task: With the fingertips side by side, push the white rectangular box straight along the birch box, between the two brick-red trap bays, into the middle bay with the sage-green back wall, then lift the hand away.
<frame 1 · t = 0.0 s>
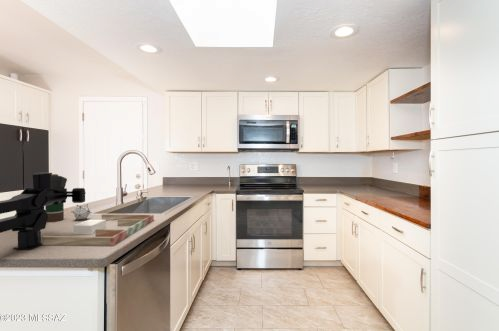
hand: (75, 192, 123), 17 cm above the countertop, tool horizontal, fingers open, 9 cm apart
beer bottle: (54, 220, 138), on the countertop
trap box: (112, 230, 120), on the countertop
geometric wire polyhedron: (81, 220, 140), on the countertop
white rectangular box: (90, 231, 120), on the countertop
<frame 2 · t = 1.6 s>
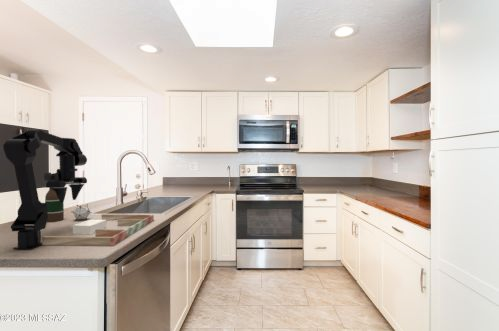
hand: (68, 201, 120), 13 cm above the countertop, tool pointing down, fingers open, 8 cm apart
nothing on the countertop moved.
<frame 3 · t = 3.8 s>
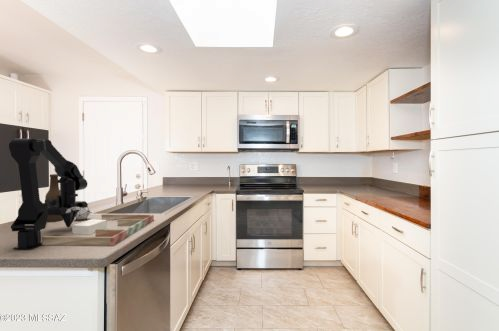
hand: (68, 226, 120), 2 cm above the countertop, tool pointing down, fingers closed
nothing on the countertop moved.
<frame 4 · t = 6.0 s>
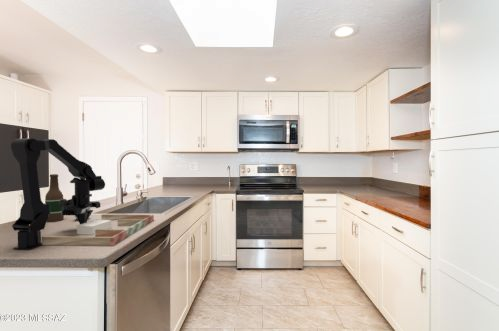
hand: (82, 226, 120), 2 cm above the countertop, tool pointing down, fingers closed
white rectangular box: (94, 231, 120), on the countertop
everything else where it was.
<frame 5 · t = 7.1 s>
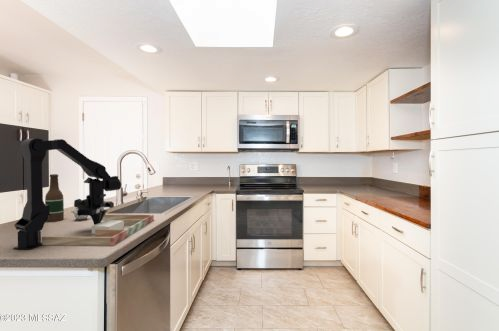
hand: (97, 227, 120), 2 cm above the countertop, tool pointing down, fingers closed
white rectangular box: (108, 231, 120), on the countertop, touching gripper
everything else where it was.
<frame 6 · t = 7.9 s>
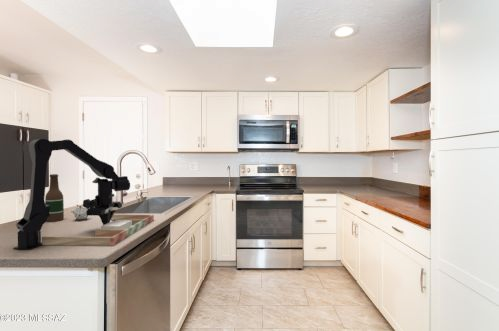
hand: (105, 227, 120), 2 cm above the countertop, tool pointing down, fingers closed
white rectangular box: (117, 231, 120), on the countertop, touching gripper
everything else where it was.
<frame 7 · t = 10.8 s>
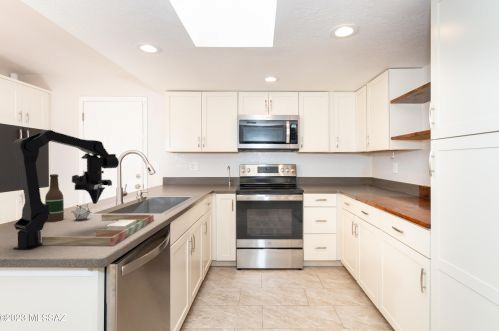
hand: (94, 203, 120), 12 cm above the countertop, tool pointing down, fingers closed
white rectangular box: (122, 231, 120), on the countertop
everything else where it was.
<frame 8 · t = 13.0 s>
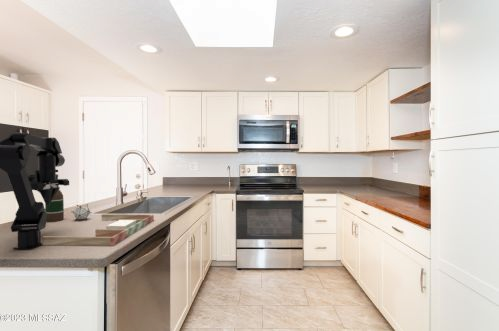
hand: (47, 204, 112), 13 cm above the countertop, tool pointing down, fingers closed
nothing on the countertop moved.
at the end: white rectangular box inside the target area (0.8 cm from its centre), on the countertop; white rectangular box tilted 0°; white rectangular box moved 14.3 cm from its start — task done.
